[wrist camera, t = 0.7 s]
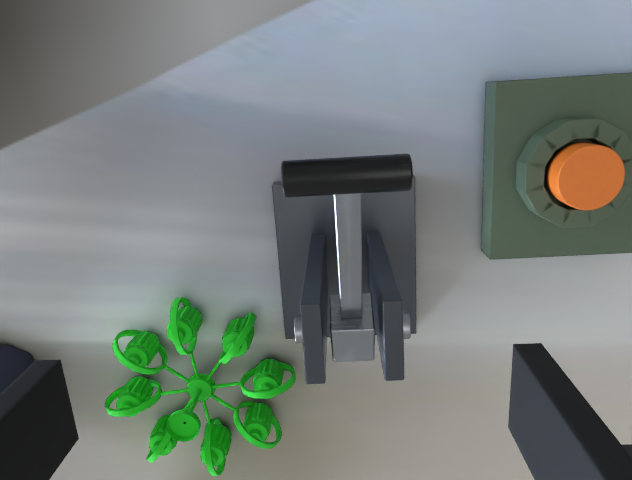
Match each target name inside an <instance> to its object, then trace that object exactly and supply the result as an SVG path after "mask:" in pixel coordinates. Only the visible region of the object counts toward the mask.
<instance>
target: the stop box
mask: <svg viewBox="0 0 632 480" xmlns="http://www.w3.org/2000/svg"><path fill="white" fill-rule="evenodd" d="M581 142H586V143H592V144H597V145H602V146H606V147H608V148H610V149H612V150H614V151H615V152H616V153H617V154H618V155H619V156H620V158H621V160H622V162H623V164H624V168H625V178H624V183H623V186H622V188H621V190H620V191H619V193H618V194H617V196H616V197H615V198H614V199H613V200H612V201H611V202H609V203H608V204H606V205H605V206H603V207H600V208H598V209H594V210H579V209H576V208H573V207H571V206H569V205H567V204H565V203H563V202H561V201H559V200H558V199H556V198H555V197H554V196H553V195H552V193H551V192H550V190H549V187H548V184H547V171H548V168H549V165H550V163H551V161H552V159H553V158H554V157H555V156H556V154H557V153H558V152H560V151H561V150H562V149H564V148H565V147H567V146H569V145H572V144H575V143H581ZM481 251H482V252H483V253H484V254H485V255H486V256H487V257H488V258H489V259H511V258H532V257H553V256H574V255H594V254H615V253H632V73H618V74H602V75H587V76H571V77H556V78H541V79H525V80H510V81H494V82H486V98H485V133H484V169H483V205H482V240H481Z"/></svg>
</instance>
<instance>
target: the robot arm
mask: <svg viewBox="0 0 632 480" xmlns="http://www.w3.org/2000/svg"><path fill="white" fill-rule="evenodd" d="M508 428H509V430H510V432H511V434H512V436H513V438H514V439H515V441H516V443H517V445H518V447H519V449H520V451H521V453H522V455H523V457H524V459H525V461H526V463H527V465H528V467H529V469H530V471H531V473H532V475H533V477H534V479H535V480H632V445H621V444H620V442H619V441H618V440H617V439H616V437H615V436H614V435H613V434H612V432H611V431H610V430H609V429H608V427H607V426H606V425H605V424H604V422H603V421H602V420H601V418H600V417H599V416H598V415H597V413H596V412H595V411H594V410H593V408H592V407H591V406H590V405H589V403H588V402H587V401H586V399H585V398H584V397H583V396H582V394H581V393H580V392H579V391H578V389H577V388H576V387H575V386H574V384H573V383H572V382H571V381H570V379H569V378H568V377H567V375H566V374H565V373H564V372H563V370H562V369H561V368H560V367H559V365H558V364H557V363H556V362H555V360H554V359H553V358H552V357H551V355H550V354H549V353H548V351H547V350H546V349H545V348H544V346H543V345H542V344H541V343H535V344H513V358H512V375H511V391H510V408H509V424H508ZM78 439H79V438H78V434H77V429H76V425H75V421H74V416H73V412H72V408H71V403H70V399H69V394H68V390H67V386H66V381H65V377H64V373H63V368H62V364H61V360H41V361H34V362H33V363H32V364H31V365H30V366H29V367H28V368H27V369H26V370H25V371H24V372H23V373H22V374H21V375H19V376H18V377H17V378H16V379H15V380H14V381H13V382H12V383H11V384H10V385H9V386H8V387H7V388H5V389H4V390H3V391H2V392H1V393H0V480H49V479H50V478H51V476H52V475H53V473H54V472H55V471H56V469H57V468H58V467H59V465H60V464H61V462H62V461H63V460H64V458H65V457H66V455H67V454H68V453H69V451H70V450H71V448H72V447H73V446H74V444H75V443H76V441H77V440H78Z"/></svg>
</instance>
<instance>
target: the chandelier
mask: <svg viewBox="0 0 632 480" xmlns="http://www.w3.org/2000/svg"><path fill="white" fill-rule="evenodd" d="M180 302H182V303H183V305H184V306H185V307H182V308H181V309H179V310H178V307H179V304H180ZM178 319H179V320H178ZM180 319H182V320H180ZM255 320H256V315H255V314H253V313H252V312H250V313H249V314H248V315H247V316H246V317H245V318H236V319H233V320H232V321H231V322H230V323H229V324H228V326H227V328H226V330H225V332H224V335H223V337H222V347H223V351H222V353H221V356H220V358H219V361H218V363H217V364H216V365H215V367H214V368H213V369H212V371H211V372H210V373H209V375H206V374H198V371H197V368H196V364H195V360H194V356H193V351H194V349H195V345H196V339H197V331H198V330H199V328H200V326H201V324H202V316H201V314H200V312H199V311H198V310H197V309H196V308H194V307H192V305H191V303H190V301H189V300H188V299H187V298H185V297H182V298H176V299H175V300H174V301H173V303H172V306H171V310H170V322H169V324H168V328H167V336H168V338H169V339H170V341H172V342H173V343H174V346H175V348H176V350H177V351H178V353H179V354H181V355H188V354H190V358H191V361H192V365H193V369H194V373H195V375H193V376H191V377H190V378H189V379H187V378H186V377H184V376H183V375H181V374H179V373H178V372H176V371H174V370H173V369H171V368H170V367H168V366H166V363H167V353H166V351H165V349H164V347H163V346H162V345H161V344H160V342H159V339H158V338H157V336H155V334H153V333H152V332H147V331H146V332H145V331H144V332H141V331H137V330H124V331H122V332H120V333H119V334H118V335H117V336H116V338H115V339H114V341H113V345H112V347H113V352H114V354H115V356H116V357H117V359H118V360H119V361H120V362H121V363H122V364H123V365H125V366H126V367H128V368H129V369H131V370H133V371H135V372H138V373H141V374H156V373H158V372H160V371H161V370H162V369H163V368H165V369H166V370H168V371H170V372H171V373H173V374H175V375H176V376H178V377H179V378H181V379H183V380H184V381H186V382H187V389H181V390H173V391H166V392H162V389H161V385H160V383H159V382H157V381H155V380H148V379H146V378H144V377H141V376H139V377H134V378H132V379H130V381H129V382H128V383H127V384H126V385H125V386H123V387H121V388H119V389H117V390H116V391H114V392H113V393H112V394H111V395H110V396H109V397H108V398H107V399H106V401H105V407H106V410H107V413H108V414H109V415H111V416H116V417H122V416H128V417H132V416H135V415H137V414H138V413H139V412H141V411H143V410H145V409H147V408H149V407H150V406H152V405H153V404H154V403H156V402H157V401H158V400H159V398H160V397H161V395H167V394H175V393H182V392H188V394H189V396H190V397H191V399H190V400H189V402H188V403H187V405H186V406H185V407H184V409H180V410H177V411H175V412H173V413H172V414H171V415H164V416H162V417H161V418H160V419H159V420H158V421H157V423H156V425H155V427H154V429H153V431H152V433H151V436H150V441H149V448H150V452H149V454H148V456H147V460H148V461H150V462H151V463H153V462H154V461H155V460H156V459H157V457H158V456H159V455H160V456H163V455H167V454H169V453H170V452H171V450H172V449H173V448H174V447H175V446H176V443H177V441H178V440H179V441H190V440H192V439H194V438H195V437H196V436H197V434H198V432H199V429H200V426H201V423H200V419H199V417H198V416H197V415H196V414H195V413H194V412H193V410H194V408H195V405H196V403H197V401H202V403H203V407H204V411H205V415H206V419H207V422H208V423H207V425H206V429H205V435H204V440H203V443H202V445H201V454H200V457H201V460H202V462H203V463H204V464H206V466H207V469H208V471H209V473H210V474H211V475H212V476H217V475H221V474H222V472H223V470H224V466H225V461H226V456H227V454H228V451H229V447H230V444H231V433H230V431H229V430H228V428H226V427H224V426H223V425H222V423H221V421H220V420H219V419H211V420H210V417H209V413H208V410H207V406H206V402H205V400H207V399H208V398H209V397H212V398H213V399H215V400H217V401H218V402H220V403H221V404H223V405H225V406H226V407H228V408H229V409H231V410H233V411H234V413H233V419H234V423H235V426H236V428H237V429H238V431H239V432H240V434H241V435H242V436H243V437H244V438H245V439H246V440H247V441H248V442H250V443H251V444H253V445H255V446H257V447H260V448H264V449H270V448H273V447H274V446H276V445H277V443H278V442H279V441H280V439H281V436H282V431H281V427H280V425H279V423H278V421H277V419H276V418H275V417H274V415H273V413H272V410H271V408H270V407H269V406H268V405H266V404H264V403H255V402H251V401H245V402H242V403H240V404H239V405H238V406H237V408H234V407H232V406H231V405H229V404H228V403H226V402H224V401H223V400H221V399H220V398H218V397H216V396H215V395H213V394H214V392H215V388H220V387H227V386H235V385H240V386H241V390H242V392H243V393H244V394H245V395H246V396H248V397H251V398H263V399H270V398H273V397H274V396H276V395H278V394H281V393H283V392H285V391H286V390H288V389H289V388H290V387H291V386H292V385H293V384H294V382H295V380H296V375H295V370H294V368H293V367H292V366H291V365H289V364H286V363H281V362H278V361H276V360H274V359H271V360H270V359H265V360H263V361H261V362H260V363H259V364H258V365H257V367H255V368H253V369H251V370H249V371H248V372H247V373H245V374H244V375H243V377H242V378H241V381H240V382H233V383H225V384H218V385H215V382H214V381H213V379H212V378H211V376H212V375H213V373H214V372H215V371H216V369H217V368H218V367H219V365H220V364H221V363H223V364H227V363H228V362H229V361H230V359H231V358H232V357H239V356H241V355H243V354H244V353H245V352H246V351H247V350H248V349H249V347H250V344H251V342H252V339H253V336H254V327H253V324H254V322H255ZM241 321H242V322H241ZM188 322H189V323H188ZM230 332H231V333H230ZM123 336H134V338H133V339H132V340H131V341H130V343H129V344H128V345H127V347H126V348H125V350H124V354H123V353H122V352H121V350H120V349H119V346H118V339H119V338H120V337H123ZM246 337H247V338H246ZM188 342H189V346H188V348H187V350H185V349H184V347H183V346H182V345H183V344H186V343H188ZM139 346H141V347H139ZM143 348H144V349H143ZM145 349H146V350H145ZM158 351H159V353H160V355H161V357H162V365H161V366H160V367H157V368H146V367H145V366H147V365H149V364H150V362H151V361H152V359H153V358H154V356H155V355H156V353H157V352H158ZM147 352H148V353H147ZM283 369H285V370H288V371H290V372H291V373H292V376H291V378H290V379H289V380H288V381H287V382H286V383H284V384H283V385H281V384H282V378H283V373H284V372H283ZM265 374H268V375H265ZM253 375H255V376H254V379H253V385H254V391H251V390H248V389H246V388H245V387H244V384H245V382H246V381H247V380H248V379H249V378H250V377H252V376H253ZM271 375H272V376H271ZM274 377H275V378H274ZM144 379H145V380H144ZM153 386H154V387H156V388H158V391H157V392H156V394H155V395H154V396H153V397H152V398H150V397H151V396H152V391H153ZM136 395H137V396H136ZM117 397H118V400H117V403H116V407H117V410H115V409H111V408H109V406H110V404H111V403H112V401H113V400H114V399H115V398H117ZM188 407H189V408H188ZM242 407H250V408H249V409H248V410H247V413H246V417H245V420H244V426H243V425H242V423H241V421H240V419H239V414H238V412H239V409H240V408H242ZM187 408H188V410H187ZM254 420H258V421H254ZM260 421H261V422H260ZM214 424H215V426H213V425H214ZM271 424H273V426H274V428H275V431H276V436H277V438H276V441H275V442H271V443H268V442H264V441H265V440H266V438H267V436H268V435H269V433H270V429H271ZM215 466H218V468H217V471H216V470H215V468H214V467H215Z"/></svg>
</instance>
